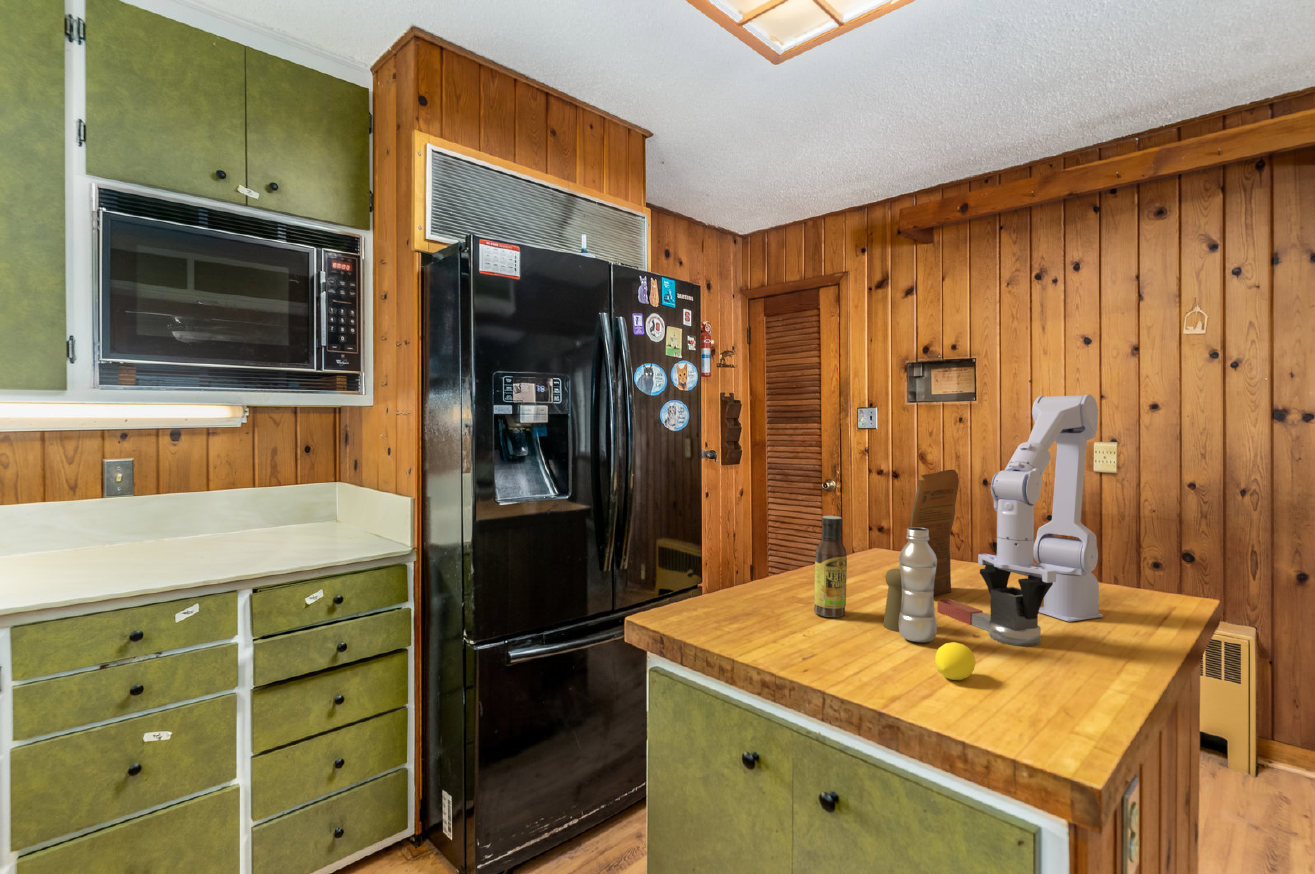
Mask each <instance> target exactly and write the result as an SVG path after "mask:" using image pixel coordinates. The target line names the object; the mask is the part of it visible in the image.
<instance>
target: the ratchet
mask: <svg viewBox="0 0 1315 874" xmlns="http://www.w3.org/2000/svg"><path fill="white" fill-rule="evenodd" d="M937 613H939V614H941V615H944V614H946V615H945V616H947V615H948V616H947V617H949V616H950V618H952V619H955V620H957V619H958V620H957V621H960V622H962V623H965V624H967V623H968V624H967V625H971V626H974V627H977V628H979V629H981V628H982V630H985V631H986V630H987V632H988V633H989V634H988V635H989V637H990V638H991V639H992V638H993V639H992V640H994V641H996V640H997V642H999V643H1001V642H1003V643H1002V644H1005V643H1007V644H1006V645H1009V644H1011V646H1015V645H1016V646H1018V647H1036V646H1039V645H1040V644H1041V638H1042V636H1041V634H1042V632H1041V631H1042V630H1041V626H1040V625H1038V628H1032V629H1025V630H1019V631H1014V630H1011V629H1008V628H1006V627H1003V626H1000V625H997V624H995V623H992V622H991V614H989V613H987V612H983V609H978V608H976V607H973V606H971V605H967V604H965V603H962V602H959V601H957V600H953V599H951V598H946V599H938V600H937Z"/></svg>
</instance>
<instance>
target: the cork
mask: <svg viewBox="0 0 1315 874" xmlns="http://www.w3.org/2000/svg"><path fill="white" fill-rule="evenodd" d="M885 583H886V584H887V586H888V589H887V597H886V603H885V609H884V616H883V624H882V626H883V628H885V629H886V628H887V630H888V631H893V632H897V633H900V632H899V626H898V622H899V615H900V612H901V601H902V582H901V572H900V568H892V569H891V568H890V569H888V570H887V571H886V573H885Z"/></svg>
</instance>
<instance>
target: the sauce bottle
mask: <svg viewBox="0 0 1315 874" xmlns="http://www.w3.org/2000/svg"><path fill="white" fill-rule="evenodd" d="M821 525H822V528H821V529H822V531H821V540H820V541H819V543H818V544H817V546H816V549H815V561H814V594H813V604H814V607H813V608H814V613H815V614H817V615H819V616H821V617H825V618H840V617H843V616H845V615H846V606H847V568H848V567H847V565H848V557H847V549H846V547H845V546H844V544H843V542H842V525H843V517H841V516H836V515H823V516H821Z"/></svg>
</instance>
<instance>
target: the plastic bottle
mask: <svg viewBox="0 0 1315 874" xmlns="http://www.w3.org/2000/svg"><path fill="white" fill-rule="evenodd" d="M905 537H906V538H905V539H906V540H907V543H905V544H904V546H903V547H902V549H901V551H899V555H898V563H899V565H898V566H899V569H900V572H901V582H902V601H901V612H900V615H899V622H898V626H899V632H898V633H900V635H901V637H902V638H903V639H906V640H907V641H911V642H914V643H929V642H932V641H933V640H934V639H935V638H936V636H937V631H938V624H937V618H936V613H935V612H936V611H935V600H934V597H933V594H934V591H933V590H934V579H935V573H936V566H937V558H936V555H935V553H934V551H933V550H932V548H931V547H930V546H929V544H928V542H927V541H928V540H929V531H928V529H926V528H918V527H911V528H910V527H907V528H906V536H905Z"/></svg>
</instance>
